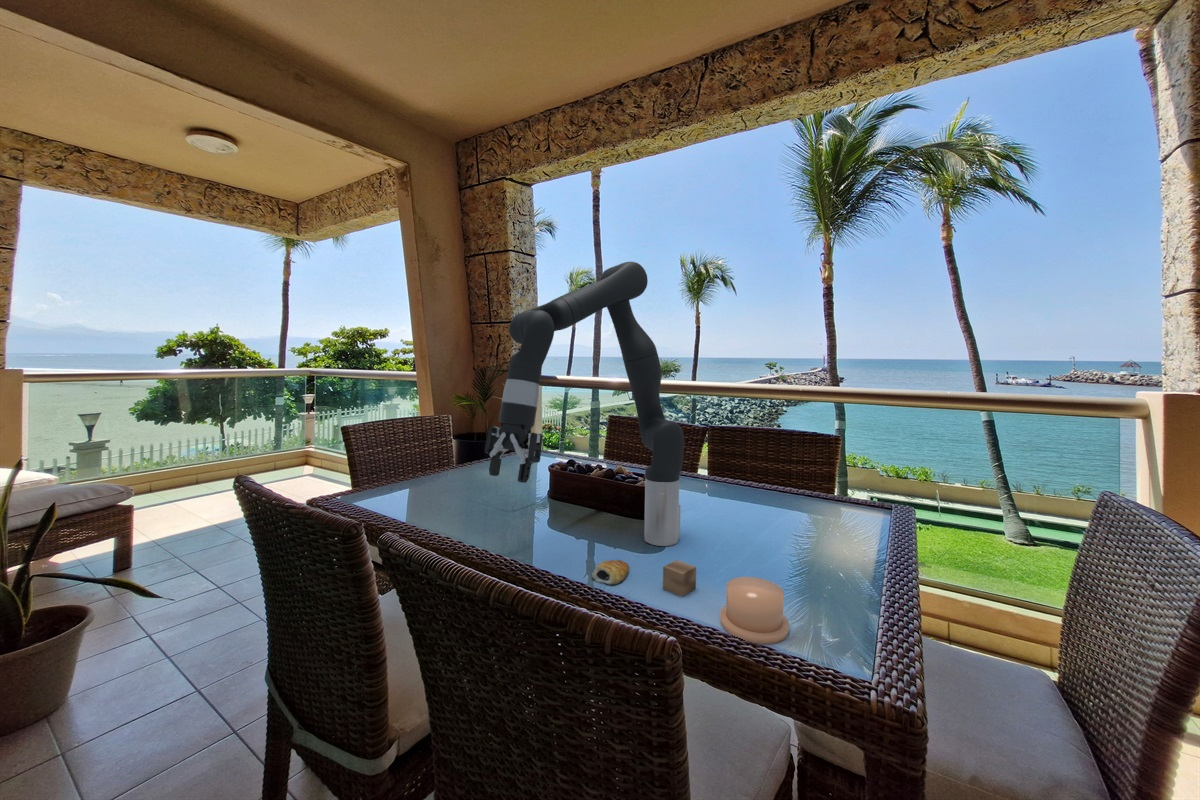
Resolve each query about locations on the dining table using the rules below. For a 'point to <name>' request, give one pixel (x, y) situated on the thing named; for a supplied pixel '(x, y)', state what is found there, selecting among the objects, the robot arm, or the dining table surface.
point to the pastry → (611, 572)
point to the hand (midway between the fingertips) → (507, 478)
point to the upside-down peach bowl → (754, 611)
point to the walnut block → (679, 578)
